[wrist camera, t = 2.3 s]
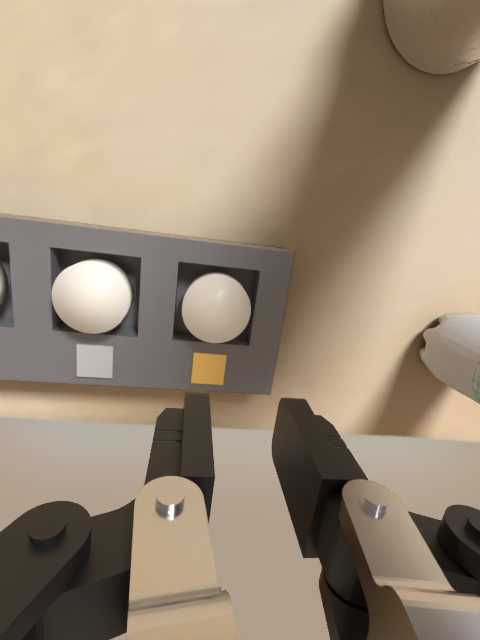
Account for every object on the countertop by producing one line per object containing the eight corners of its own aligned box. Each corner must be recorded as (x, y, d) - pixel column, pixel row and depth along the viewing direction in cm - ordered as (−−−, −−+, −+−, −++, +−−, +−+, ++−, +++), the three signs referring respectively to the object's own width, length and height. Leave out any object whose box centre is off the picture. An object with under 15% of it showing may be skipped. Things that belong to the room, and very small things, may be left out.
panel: (-77, 355, 26) (-113, 374, 23) (-99, 200, 23) (-145, 199, 19) (263, 377, 30) (270, 396, 27) (284, 248, 26) (295, 253, 23)
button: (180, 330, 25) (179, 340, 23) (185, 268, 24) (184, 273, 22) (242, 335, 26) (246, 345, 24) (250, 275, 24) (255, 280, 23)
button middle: (63, 321, 24) (52, 330, 22) (62, 254, 23) (50, 258, 21) (132, 326, 25) (127, 336, 23) (135, 262, 23) (129, 267, 21)
